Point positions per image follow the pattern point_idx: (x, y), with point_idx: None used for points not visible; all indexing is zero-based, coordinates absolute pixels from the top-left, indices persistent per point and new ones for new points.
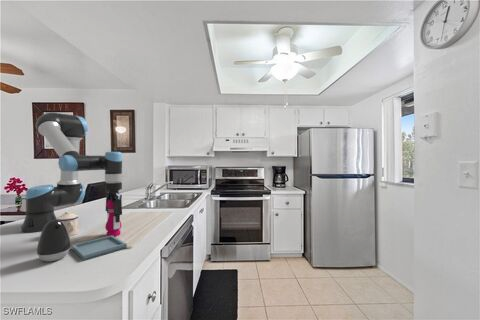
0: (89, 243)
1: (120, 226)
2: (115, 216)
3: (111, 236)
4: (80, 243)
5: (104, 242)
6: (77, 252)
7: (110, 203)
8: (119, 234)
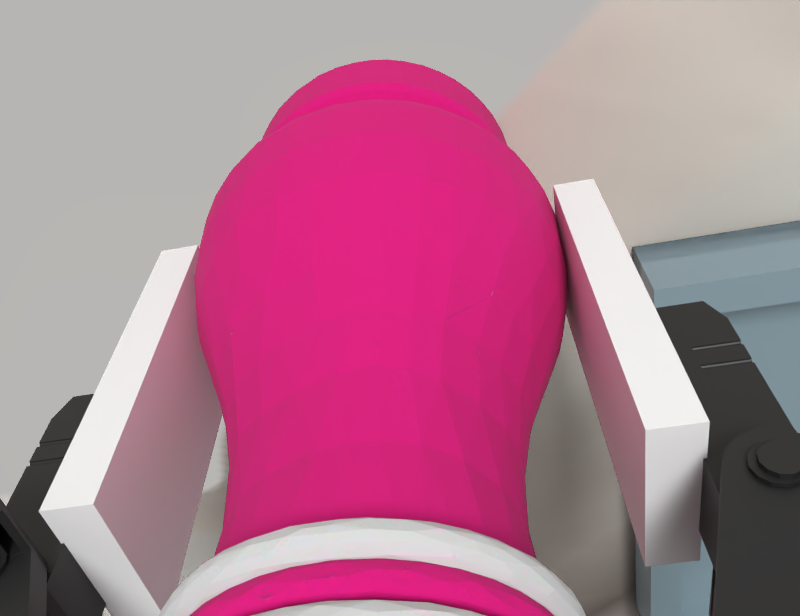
0: None
1: (514, 157)
2: (692, 518)
3: (718, 306)
4: (675, 600)
5: (780, 377)
6: None
7: None
8: (477, 98)
